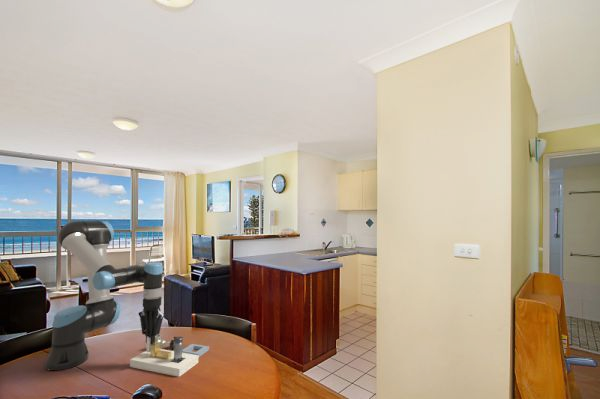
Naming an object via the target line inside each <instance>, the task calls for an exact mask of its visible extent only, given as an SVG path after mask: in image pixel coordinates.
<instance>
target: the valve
mask: <svg viewBox="0 0 600 399" xmlns="http://www.w3.org/2000/svg"><path fill="white" fill-rule="evenodd" d="M176 337H177V336H173V339H171V341H166V339H162V334H158V335H156V336H155V343H156V342H159V343H161V347H160V349H162V347H165V346H170V351H174V339H175V338H176Z"/></svg>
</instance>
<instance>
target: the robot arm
mask: <svg viewBox="0 0 600 399" xmlns="http://www.w3.org/2000/svg"><path fill="white" fill-rule="evenodd" d="M114 236H115V230H114V227H113V226H112V224H111V223H110V222H108V221H106V220H105V221H101V220H73V221H71V222H68V223H65V224H64V225H63V226H62V227H61V228H60V229H59V231H58V234H57V241H58V244H59V245H60V247H62V248H63V249H64V250H65V251H69V252H70V253H71V254H72V255H73V256H74V257H75V258H76V259H77V260H78V261H79V262H80V263H81V264H82V266H83V267H85V268H86V272H87V284H88V285H87V286H88V300H87V301H86V302H85V305H75V306H70V307H66V308H65V309H62V310H60V311H58V312H57V313H56V314H55V315H54V317H53V322H52V324H51V325H52V335H51V348H50V351H49V353H48V356H47V357H46V360H45V363H44V369H45V368H46V369H49V370H58V371H63V369H64V370H67V369H72V368H74V367H77V366H79V365H81V364H83V363H85V362H86V361H87V360H88V358H89V353H90V352H89V349H88V347H87V344H86V341H85V338H86V334H87V333H91V332H94V331H97V330H99V329H102V328H107V327H109V326H111V325H113V324H114V323H116V322H117V320H118V319H119V317H120V316H121V315H120V313H121V305H120V304H119V301H117V300H115V297H114V296H112V295H111V293H110V289H113V288H117V287H122V286H127V285H131V284H137V283H139V284H140V283H141V284H143V292H142V294H143V296H142V297H143V299H142V308H143V309H142V310H141V311H139V312H138V316H139V320H140V328H141V334H142V335H145V344H146V348H145V351H146V352H150V350H151V345H152V344H154V343H155V336H156V335H160V333H161V332H160V331H161V328H162V324H163V319H164V318H165V316H166V314H165V313H162V312H161V305H162V295H163V294H162V293H163V291H162V290H163V275H164V274H163V273H164V270H163V263H162V262H160V261H153V262H151V261H150V262H146V263H145V264H144V265H138V264H133V265H128V266H127V267H123V268H121V267H120V268H116V267H114V266H113V265H112V264H111V263H110V262H109V261H108V254H107V249H108V248H109V246H110V243H111V242H112V241H113V239H114ZM46 369H45V370H46ZM49 370H48V371H49Z"/></svg>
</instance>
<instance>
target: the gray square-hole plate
mask: <svg viewBox="0 0 600 399" xmlns="http://www.w3.org/2000/svg"><path fill="white" fill-rule="evenodd" d="M194 350H197V351H194ZM209 350H210V346H209V345H203V344H196V343H195V344H194V343H191V344H189V345H188V346H187V347H185V348H182V353H187V354H193V355H199V358H200V357H201V356H202V355H204V354H205V353H207V352H208V351H209Z"/></svg>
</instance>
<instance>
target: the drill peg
mask: <svg viewBox="0 0 600 399" xmlns="http://www.w3.org/2000/svg"><path fill="white" fill-rule="evenodd" d="M175 337H176V338H175V339H174V338H173V340H174V350H173V351H174V362H175V363H180V362H181V361H182V350H183V340H184V338H183V336H175Z"/></svg>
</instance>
